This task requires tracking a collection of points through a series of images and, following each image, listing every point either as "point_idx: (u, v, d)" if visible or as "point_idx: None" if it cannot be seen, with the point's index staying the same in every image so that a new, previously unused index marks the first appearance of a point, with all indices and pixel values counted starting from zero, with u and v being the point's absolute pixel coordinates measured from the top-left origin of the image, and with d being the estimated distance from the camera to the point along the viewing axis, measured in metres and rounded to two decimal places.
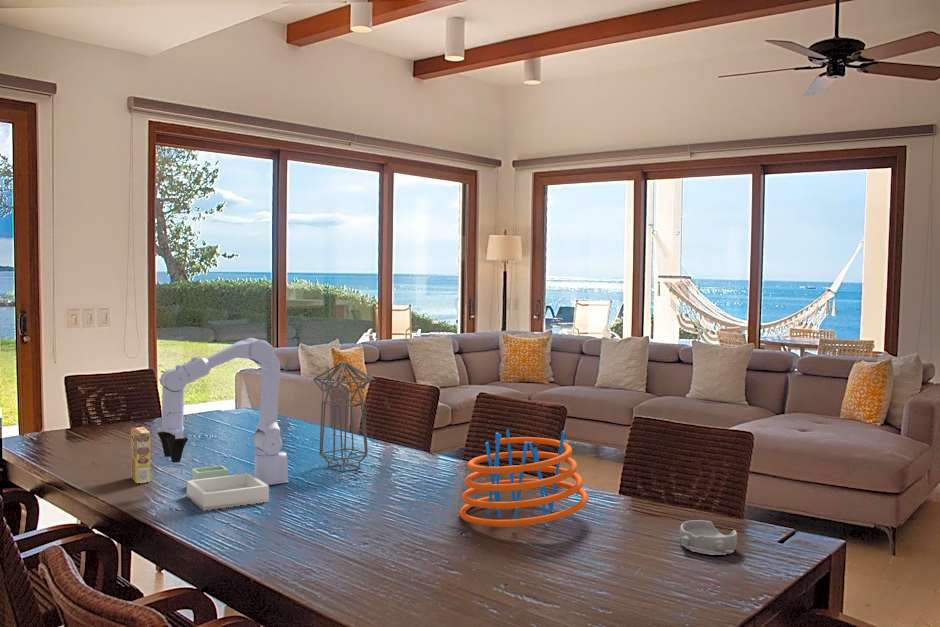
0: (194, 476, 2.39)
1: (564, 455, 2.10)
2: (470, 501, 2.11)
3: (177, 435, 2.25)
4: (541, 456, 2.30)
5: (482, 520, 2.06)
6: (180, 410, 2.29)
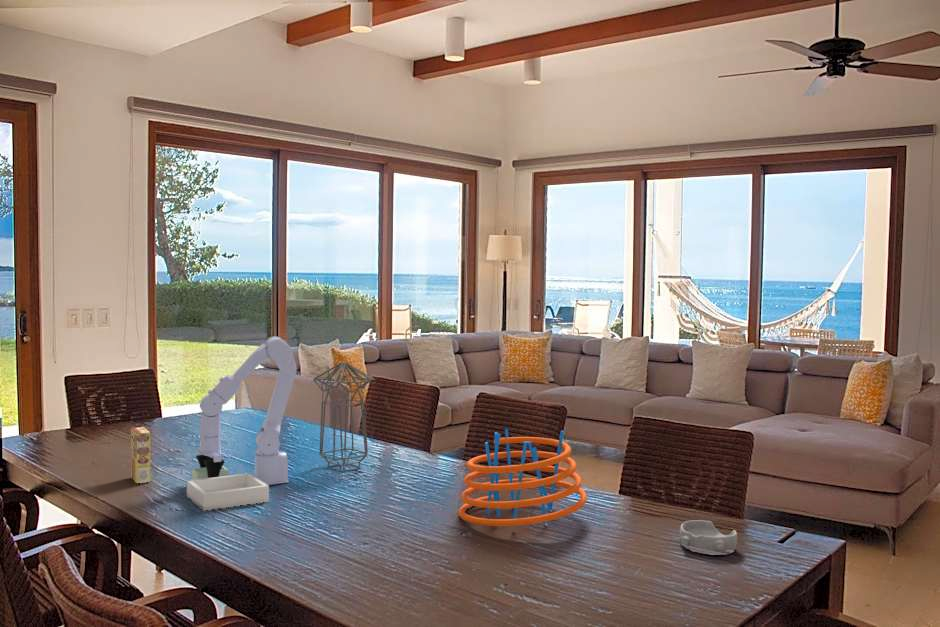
0: (194, 476, 2.39)
1: (563, 455, 2.11)
2: (469, 501, 2.11)
3: (215, 458, 2.35)
4: (540, 456, 2.31)
5: (482, 520, 2.07)
6: (216, 434, 2.39)
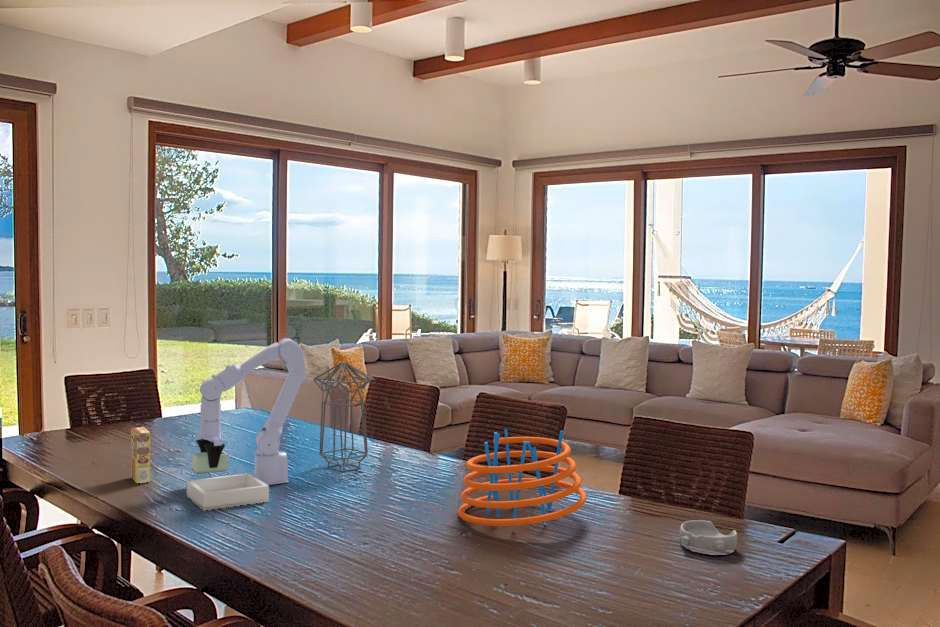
0: (195, 461, 2.39)
1: (563, 454, 2.11)
2: (469, 500, 2.12)
3: (216, 442, 2.35)
4: (539, 455, 2.31)
5: (481, 520, 2.07)
6: (216, 419, 2.39)
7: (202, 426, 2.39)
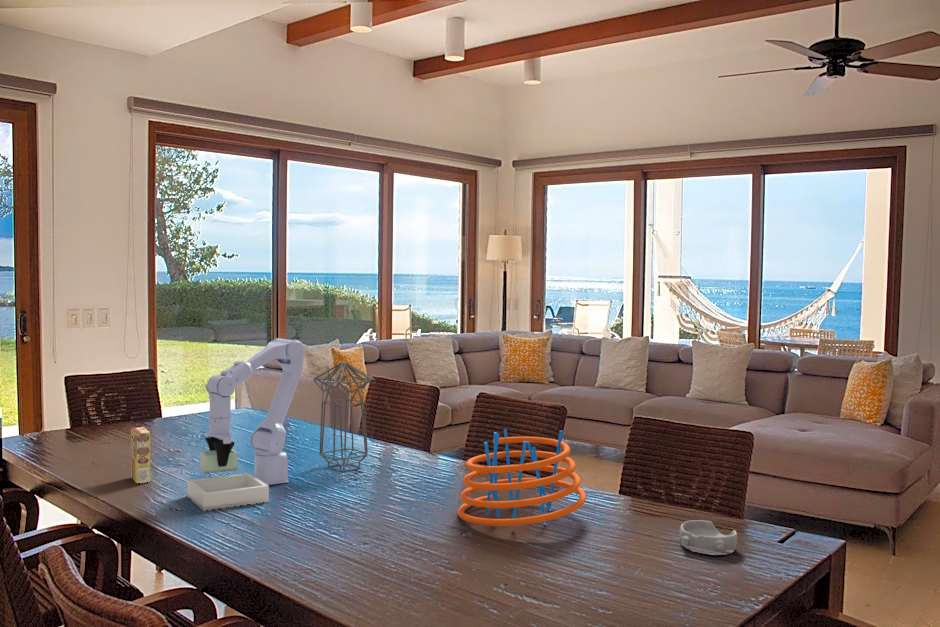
0: (203, 459, 2.32)
1: (562, 454, 2.11)
2: (468, 500, 2.12)
3: (225, 440, 2.28)
4: (539, 455, 2.31)
5: (481, 519, 2.07)
6: (229, 415, 2.33)
7: (211, 423, 2.31)
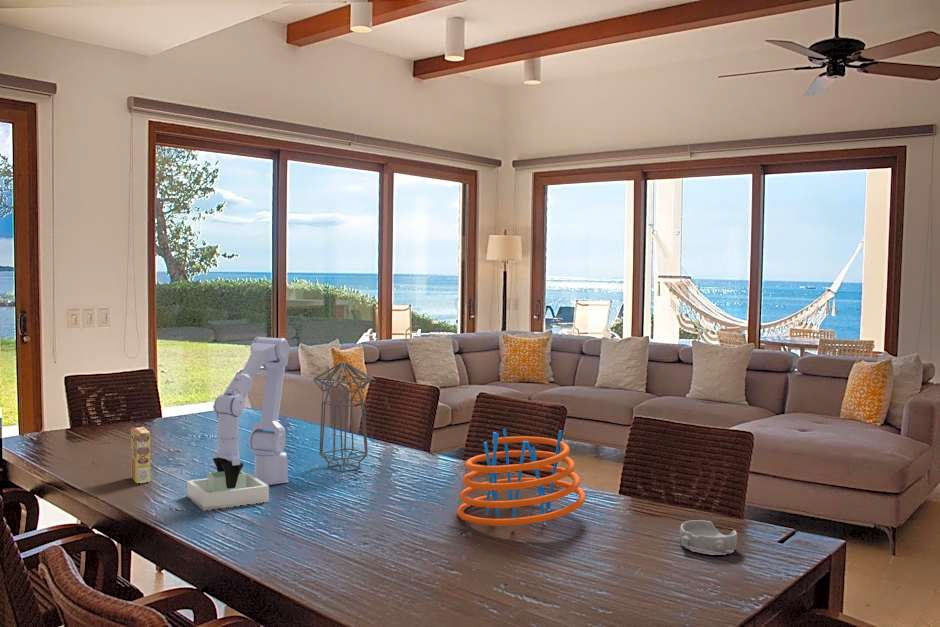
0: (211, 481, 2.26)
1: (562, 454, 2.11)
2: (468, 500, 2.12)
3: (234, 462, 2.22)
4: (538, 455, 2.31)
5: (481, 519, 2.07)
6: (238, 434, 2.29)
7: (219, 444, 2.26)
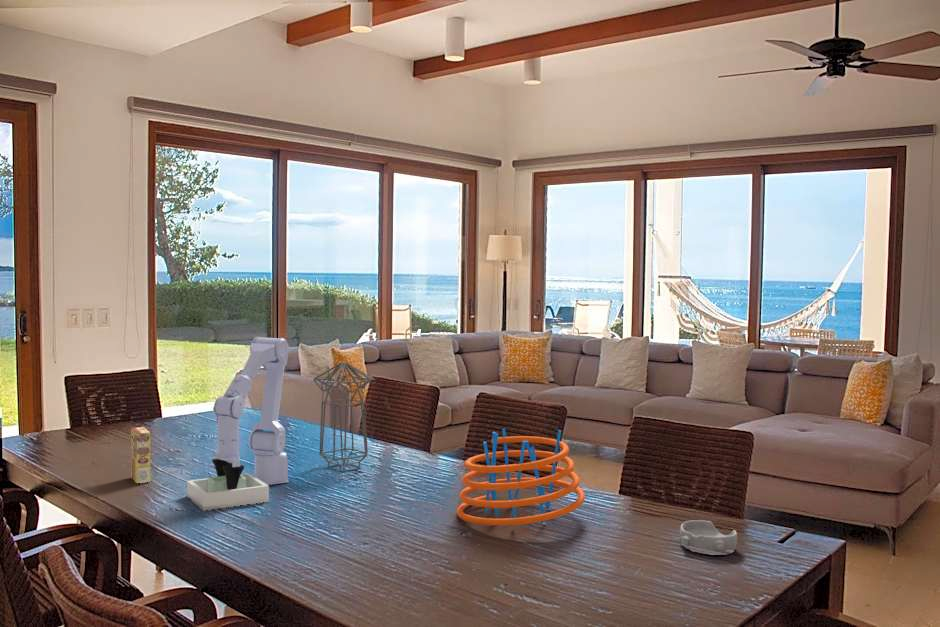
0: (211, 485, 2.26)
1: (561, 454, 2.12)
2: (467, 500, 2.12)
3: (234, 463, 2.22)
4: (537, 455, 2.31)
5: (480, 519, 2.07)
6: (238, 436, 2.29)
7: (219, 446, 2.26)
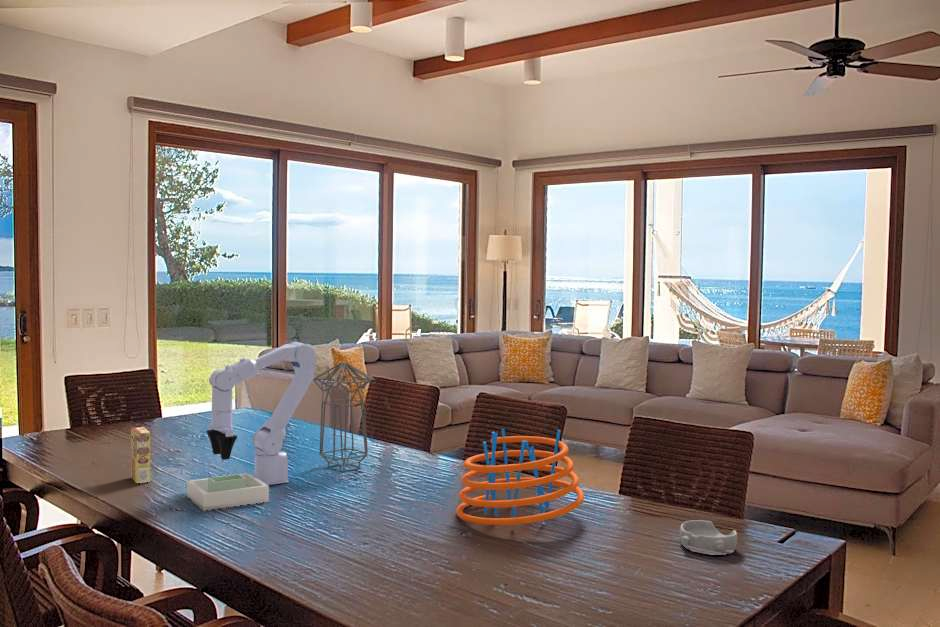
0: (211, 485, 2.26)
1: (561, 454, 2.12)
2: (467, 500, 2.12)
3: (227, 433, 2.33)
4: (536, 455, 2.32)
5: (480, 519, 2.07)
6: (229, 409, 2.37)
7: (213, 417, 2.36)
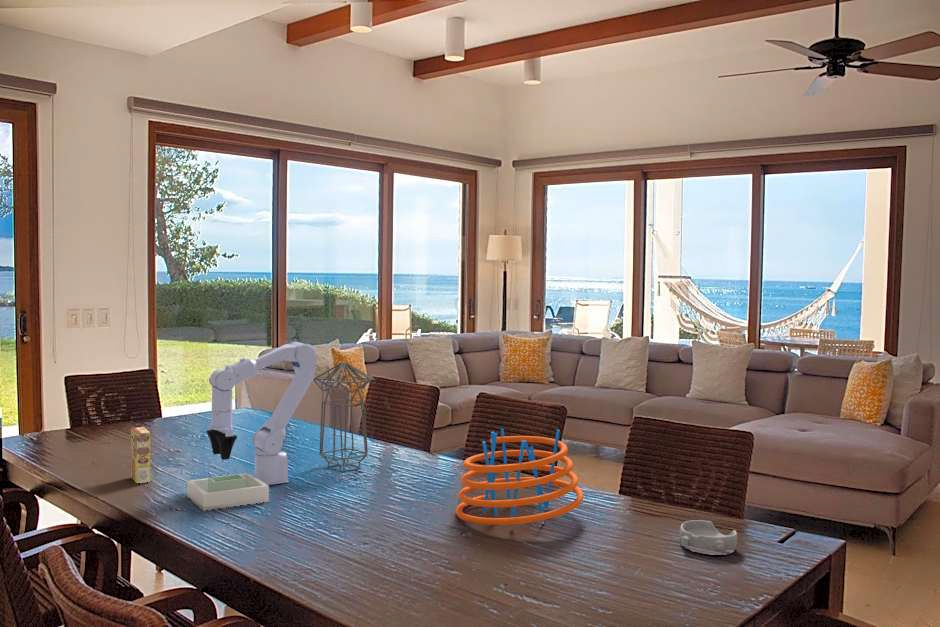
0: (211, 485, 2.26)
1: (560, 453, 2.12)
2: (467, 500, 2.12)
3: (227, 433, 2.33)
4: (535, 455, 2.32)
5: (480, 519, 2.07)
6: (229, 409, 2.37)
7: (213, 417, 2.36)
